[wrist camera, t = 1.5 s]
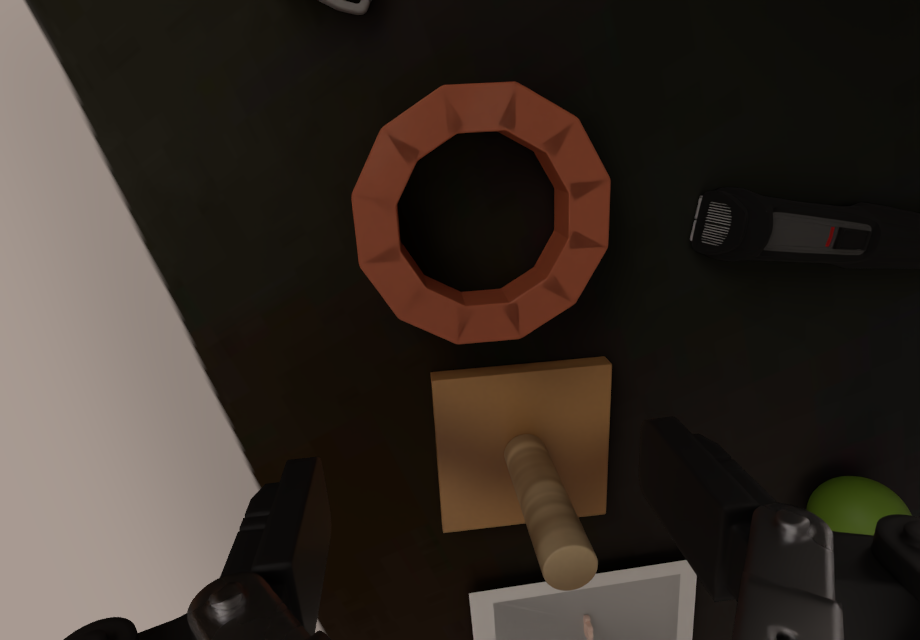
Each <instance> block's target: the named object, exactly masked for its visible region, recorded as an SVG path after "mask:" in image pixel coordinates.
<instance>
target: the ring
mask: <svg viewBox="0 0 920 640" xmlns="http://www.w3.org/2000/svg"><path fill="white" fill-rule="evenodd" d="M491 131H497V132H499V133H501V134H503V135H505V136H506V137H508V138H510V139H512V140H514V141H516V142H517V143H519V144H521V145H523V146H525V147H526V148H528V149H530V150H532V151H533V152H534V153H535V155H536V157H537V159H538V160H539V162H540V164H541V166H542V167H543V169H544V171H545V173H546V174H547V176H548V178H549V180H550V181H551V183H552V185H553V187H554V231H553V233H552V235H551V237H550V239H549V240H548V242H547V244H546V246H545V248H544V250H543V251H542V253H541V255H540V257H539V259H538V261H537V262H536V264H535V266H534V267H533V268H532V269H530V270H528V271H527V272H525V273H524V274H522V275H521V276H519V277H518V278H516V279H515V280H513V281H512V282H510V283H509V284H507V285H506V286H504V287H502V288H501V289H490V290H478V291H465V292H460V291H458V290H456V289H453V288H451V287H449V286H447V285H445V284H443V283H441V282H438V281H436V280H434V279H432V278H430V277H428V276H425V275H424V274H423V272H422V271H421V270H420V268H419V267H418V265H417V264H416V262H415V261H414V260H413V258H412V257H411V255H410V254H409V252H408V251H407V250H406V248H405V247H404V245H403V244H402V243H401V240H400V229H399V217H398V206H397V203H398V201H399V199H400V197H401V195H402V193H403V190H404V188H405V186H406V184H407V182H408V180H409V178H410V175H411V173H412V171H413V169H414V167H415V165H416V163H417V161H418V160H419V159H421V158H422V157H424V156H425V155H427V154H428V153H430V152H431V151H432V150H434V149H435V148H437V147H438V146H440V145H441V144H443V143H444V142H445V141H447V140H448V139H450V138H451V137H453V136H454V135H456V134H457V133H473V132H491ZM610 183H611V180H610V177H609V175H608V173H607V171H606V169H605V168H604V166H603V164H602V162H601V160H600V158H599V156H598V154H597V152H596V150H595V149H594V147H593V145H592V143H591V141H590V139H589V137H588V135H587V133H586V132H585V130H584V128H583V126H582V124H581V122H580V120H579V118H577V117H576V116H575V115H573V114H571V113H569V112H568V111H566V110H564V109H563V108H561V107H559V106H557V105H556V104H554V103H552V102H551V101H549V100H547V99H545V98H544V97H542V96H540V95H538V94H537V93H535V92H533V91H532V90H530V89H528V88H526V87H525V86H523V85H521V84H520V83H517V82H515V81H514V82H493V83H472V84H452V85H443V86H440V87H439V88H437V89H436V90H435V91H433V92H432V93H430V94H429V95H427V96H426V97H425V98H423V99H422V100H420V101H419V102H417V103H416V104H415V105H413V106H412V107H410V108H409V109H407V110H406V111H405V112H403V113H402V114H400V115H399V116H397V117H396V118H395V119H393V120H392V121H390V122H389V123H387V124H386V125H385V126H383V127H382V129H380V131H379V134H378V136H377V138H376V140H375V143H374V145H373V147H372V149H371V152H370V154H369V156H368V158H367V161H366V163H365V165H364V168H363V170H362V172H361V174H360V177H359V179H358V181H357V183H356V186H355V188H354V190H353V192H352V197H351V199H352V208H353V217H354V225H355V234H356V243H357V251H358V260H359V265H360V268H361V269H362V270H363V272H364V273H365V274H366V276H367V277H368V278H369V280H370V281H371V282H372V284H373V285H374V286H375V288H376V289H377V290H378V292H379V293H380V294H381V296H382V297H383V298H384V300H385V301H386V302H387V304H388V305H389V306H390V308H391V309H392V311H393V312H394V313H395V315H396V316H397V317H398V318H399V319H400V320H402V321H405V322H407V323H409V324H412V325H414V326H416V327H418V328H421V329H423V330H425V331H428V332H430V333H432V334H434V335H437V336H439V337H441V338H444V339H446V340H448V341H450V342H453V343H455V344H468V343H480V342H491V341H502V340H514V339H520V338H523V337H524V336H526V335H527V334H529V333H530V332H532V331H533V330H535V329H537V328H538V327H540V326H541V325H543V324H544V323H546V322H547V321H549V320H551V319H552V318H554V317H555V316H557V315H558V314H560V313H562V312H563V311H565V310H566V309H568V308H569V307H571V306H572V305H574V304H575V303H576V302H577V300H578V298H579V296H580V295H581V293H582V291H583V290H584V288H585V286H586V284H587V283H588V281H589V279H590V277H591V276H592V274H593V272H594V271H595V269H596V267H597V265H598V264H599V262H600V260H601V259H602V257H603V255H604V253H605V252H606V250H607V248H608V238H609V210H610Z"/></svg>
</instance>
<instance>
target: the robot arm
mask: <svg viewBox="0 0 920 640" xmlns="http://www.w3.org/2000/svg"><path fill="white" fill-rule="evenodd" d="M639 482H640V486H641V490H642V493H643V495H644V497H645V499H646V500H647V502H648V503H649V505H650V506H651V508H652V509H653V511H654V512H655V514H656V515H657V517H658V518H659V520H660V521H661V523H662V524H663V526H664V527H665V529H666V530H667V532H668V533H669V535H670V536H671V538H672V539H673V541H674V542H675V544H676V545H677V547H678V548H679V550H680V551H681V553H682V554H683V556H684V557H685V559H686V560H687V562H688V563H689V565H690V566H691V568H692V569H693V571H694V572H695V574H696V575H697V577H698V578H699V580H700V581H701V583H702V584H703V586H704V587H705V589H706V590H707V592H708V593H709V595H710V596H711V598H712V599H713V601H714V602H719V601H726V600H733V599H736V601H737V602H738V604H737V610H736V616H735V622H734V629H733V635H732V640H920V518H919V517H915V516H910V515H902V514H893V515H887V516H884V517H882V518H880V519H879V520H878V522H877V524H876V529H875V533H874V535H864V534H855V533H845V532H836V531H831V529H830V527H829V526H828V525H827V524H826V523H825V522H824V521H823V520H822V519H821V518H820V517H818V516H817V515H815V514H813V513H812V512H810V511H808V510H805V509H803V508H800V507H797V506H794V505H789V504H782V503H777V502H776V501H775V500H774V499H773V498H772V497H771V496H770V495H769V494H768V493H767V492H766V491H765V490H764V489H763V488H762V487H761V486H760V485H759V484H758V483H757V482H756V481H755V480H754V479H753V478H752V477H751V476H750V475H749V474H748V473H747V472H746V471H745V470H742V467H741V466H740V465H739V464H738V463H737V462H736V461H735V460H734V459H731V456H730V455H729V454H728V453H727V452H726V451H725V450H724V449H723V448H722V447H721V446H719V445H718V444H717V443H715V442H713V441H711V440H710V439H708V438H706V437H704V436H702V435H700V434H691V433H690V432H689V431H688V429H687V428H686V427H685V426H684V425H683V424H682V423H681V422H680V421H679V420H678V419H677V418H675V417H665V418H657V419H648V420H644V421H643V422H642V425H641V433H640V453H639ZM330 537H331V514H330V507H329V501H328V496H327V490H326V484H325V479H324V473H323V467H322V462H321V459H320V457H311V458H302V459H294V460H288V461H287V462H286V465H285V468H284V471H283V474H282V477H281V480H280V482H278V483H270V484H265V485H264V486H263V487H262V488H261V489H260V490H259V491H258V493H256V494H255V496H254V497H253V498H252V499H251V500H250V503H249V506H248V508H247V511H246V513H245V518H243V521H242V523H241V526H240V531H239V532H238V533H237V536H236V539H235V541H234V544H233V546H232V549H231V551H230V554H229V556H228V559H227V561H226V564H225V566H224V569H223V571H222V574H221V576H220V578H219V579H217V580H215V581H213V582H212V583H210V584H208V585H207V586H206V587H204V588H203V589H202V590H201V591H200V592H199V593H198V594H197V595H196V596H195V598H194V599H193V600H192V602H191V604H190V606H189V608H188V612H187V613H186V614H185V615H183V616H181V617H179V618H176V619H174V620H172V621H169V622H166V623H164V624H161V625H159V626H156V627H153V628H151V629H148V630H145V631H143V632H140V633H137V630H136V628H135V625H134V624H133V623H132V622H131V621H130V620H128V619H126V618H121V617H113V618H106V619H102V620H98V621H95V622H92V623H90V624H88V625H86V626H84V627H82V628H80V629H78V630H77V631H75V632H73V633H72V634H70V635H69V636H68V637H67V638H65V639H64V640H331V639H330V638H329V637H328V636H327V635H326V634H325V633H324V632H322V631H317V632H316V633H315V628H316V622H317V616H318V610H319V604H320V598H321V592H322V586H323V580H324V573H325V567H326V561H327V555H328V549H329V543H330Z"/></svg>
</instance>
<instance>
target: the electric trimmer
mask: <svg viewBox="0 0 920 640" xmlns="http://www.w3.org/2000/svg"><path fill="white" fill-rule="evenodd" d="M701 197H702V198H699V201H698V203H699V204H698V205H697V206H699V207H698V208H697V209H698V210H697V211H696V213H697V214H696V215H695V218H696V219H697V220H695V221H694V222H693V223H694V225H693V226H692V227H693V229H692V230H691V231H692V233H691V234H692V235H691V237H690V238H691V239H690V240H691V241H692V243H691V245H692V247H693V249H694V250H695V251H696V252H699V253H703V254H704V255H706V256H708V257H711V258H714V259H718V260H722V261H740V260H755V261H784V262H809V263H826V264H833V265H836V266H838V267H840V268H861V269H916V268H920V213H915V212H911V211H906V210H901V209H897V208H892V207H887V206H883V205H877V204H872V203H866V202H858V203H856V204H854V205H852V206H835V205H826V204H817V203H808V202H800V201H793V200H786V199H780V198H773V197H766V196H762V195H759V194H757V193H754V192H751V191H749V190H746V189H743V188H726V187H724V188H719V189H717V190H715V191H708V192H706V193H704V195H703V196H701Z"/></svg>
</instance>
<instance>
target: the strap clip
mask: <svg viewBox="0 0 920 640" xmlns="http://www.w3.org/2000/svg"><path fill="white" fill-rule="evenodd" d="M318 1H320V2H322V3H324V4H326V5H328V6H330V7H332V8H334V9H336V10H338V11H342V12H346V13H351V14H355V15H362V14H364V13H366V12H367V10H368V8H369V4H370V2H371V1H372V0H361V1H360V3H359V4H355V3H352V2H349V1H346V0H318Z"/></svg>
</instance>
